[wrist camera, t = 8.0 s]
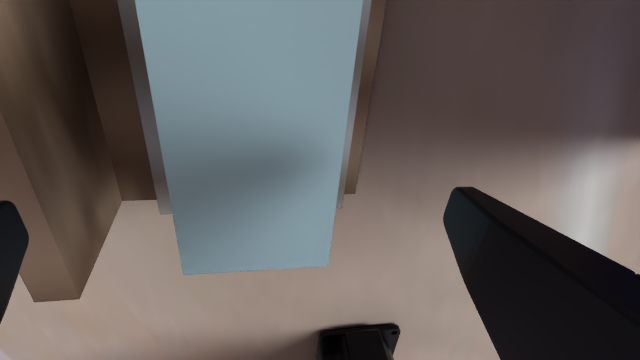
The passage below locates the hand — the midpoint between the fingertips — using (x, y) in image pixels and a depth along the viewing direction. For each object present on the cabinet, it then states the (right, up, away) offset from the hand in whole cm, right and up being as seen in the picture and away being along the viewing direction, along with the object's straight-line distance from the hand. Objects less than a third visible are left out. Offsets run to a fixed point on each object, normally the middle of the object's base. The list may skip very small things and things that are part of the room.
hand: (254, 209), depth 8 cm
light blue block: (-1, +6, +8) cm, 10 cm away
